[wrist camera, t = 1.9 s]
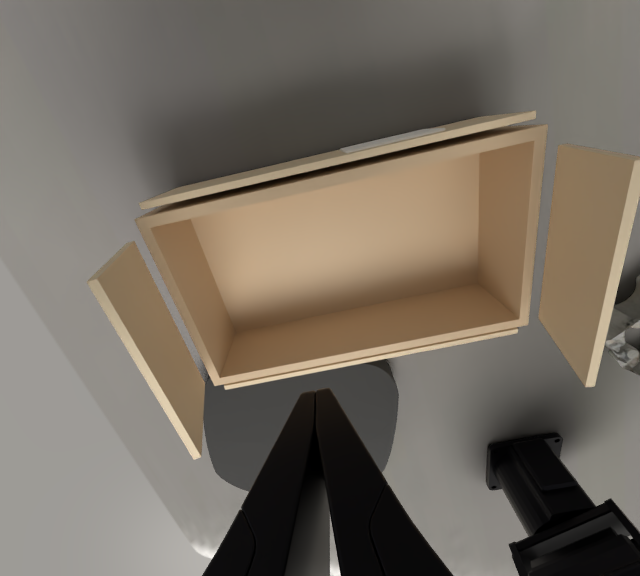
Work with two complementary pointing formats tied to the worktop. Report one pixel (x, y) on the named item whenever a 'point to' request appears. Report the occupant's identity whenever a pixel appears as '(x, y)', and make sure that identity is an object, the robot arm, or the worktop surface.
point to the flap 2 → (587, 250)
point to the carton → (355, 250)
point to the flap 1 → (152, 341)
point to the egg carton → (624, 315)
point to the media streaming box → (276, 405)
